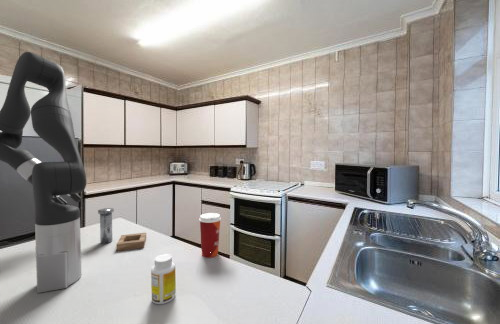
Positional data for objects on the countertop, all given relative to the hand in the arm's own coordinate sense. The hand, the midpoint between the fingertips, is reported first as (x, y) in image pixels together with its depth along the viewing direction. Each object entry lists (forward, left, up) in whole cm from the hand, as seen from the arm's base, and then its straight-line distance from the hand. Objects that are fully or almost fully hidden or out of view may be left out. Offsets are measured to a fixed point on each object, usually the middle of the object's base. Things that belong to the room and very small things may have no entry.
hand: (73, 203), depth 83 cm
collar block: (-8, -21, -16) cm, 28 cm away
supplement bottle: (-45, -33, -16) cm, 58 cm away
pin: (-2, -11, -16) cm, 20 cm away
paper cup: (-26, -48, -16) cm, 57 cm away
